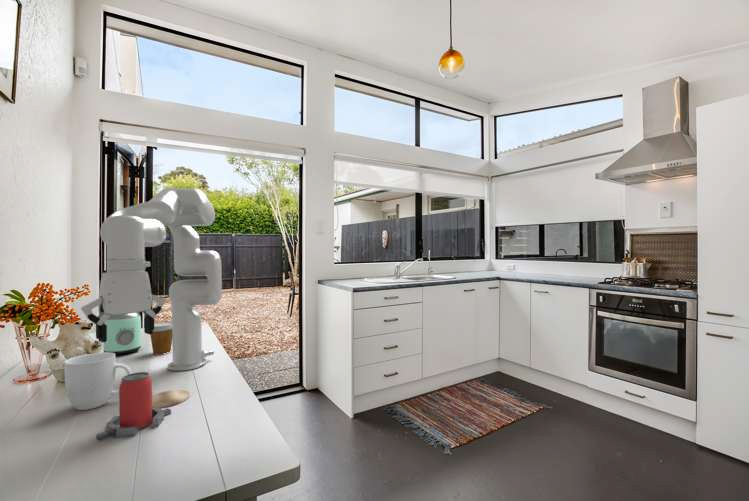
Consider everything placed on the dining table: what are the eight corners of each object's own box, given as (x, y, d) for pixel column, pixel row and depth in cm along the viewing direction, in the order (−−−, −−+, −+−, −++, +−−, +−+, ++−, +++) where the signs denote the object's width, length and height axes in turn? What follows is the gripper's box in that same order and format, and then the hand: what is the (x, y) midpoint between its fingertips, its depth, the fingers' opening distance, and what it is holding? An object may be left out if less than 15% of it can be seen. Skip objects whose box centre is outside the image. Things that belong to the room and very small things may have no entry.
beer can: (136, 433, 82) (135, 381, 82) (112, 431, 83) (111, 380, 83) (158, 420, 88) (158, 372, 88) (136, 418, 90) (135, 370, 90)
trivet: (176, 389, 108) (176, 387, 108) (197, 396, 102) (197, 394, 102) (136, 402, 99) (136, 400, 99) (157, 411, 93) (157, 409, 93)
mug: (135, 391, 107) (134, 348, 107) (128, 406, 97) (128, 358, 97) (72, 401, 100) (71, 355, 100) (58, 417, 90) (57, 366, 90)
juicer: (146, 353, 148) (145, 269, 148) (106, 360, 139) (105, 270, 139) (136, 344, 162) (135, 268, 162) (99, 350, 153) (98, 269, 153)
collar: (159, 408, 95) (158, 400, 95) (180, 417, 90) (180, 409, 90) (88, 433, 82) (88, 425, 82) (107, 446, 76) (107, 437, 76)
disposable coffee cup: (160, 349, 154) (159, 321, 154) (180, 350, 152) (179, 322, 152) (142, 355, 144) (142, 326, 144) (164, 356, 143) (163, 326, 143)
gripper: (157, 265, 95) (158, 329, 95) (76, 268, 81) (76, 342, 81) (170, 265, 91) (171, 332, 91) (87, 268, 77) (87, 347, 77)
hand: (126, 337), depth 86 cm, fingers open, 9 cm apart
